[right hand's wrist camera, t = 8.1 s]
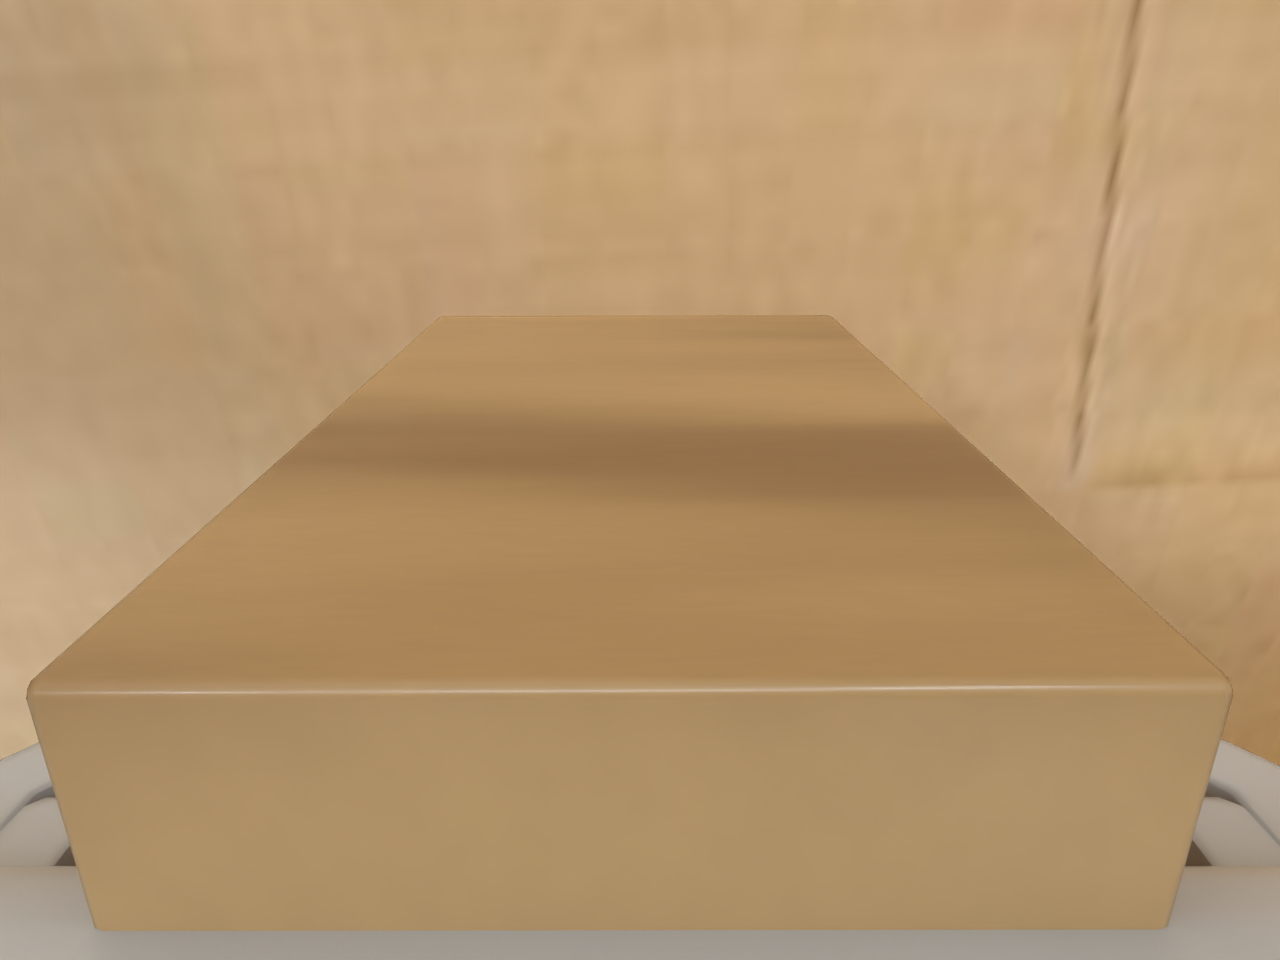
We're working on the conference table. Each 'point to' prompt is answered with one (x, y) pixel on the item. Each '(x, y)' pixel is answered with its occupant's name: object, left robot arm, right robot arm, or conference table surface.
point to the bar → (631, 665)
